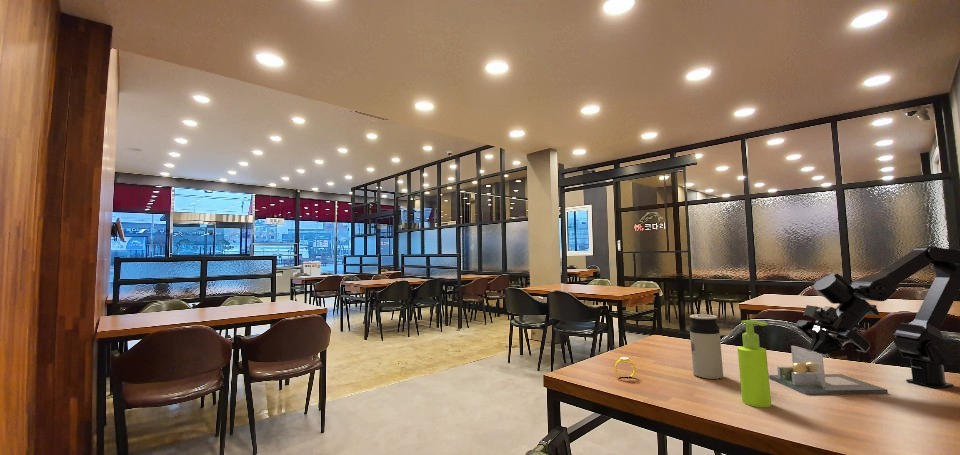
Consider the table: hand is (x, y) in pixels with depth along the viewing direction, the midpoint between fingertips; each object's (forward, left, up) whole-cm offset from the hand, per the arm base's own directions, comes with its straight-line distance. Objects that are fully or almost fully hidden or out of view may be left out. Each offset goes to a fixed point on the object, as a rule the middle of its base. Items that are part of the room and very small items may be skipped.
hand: (809, 357), depth 109 cm
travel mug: (+19, -16, -8) cm, 26 cm away
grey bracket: (+3, -1, -6) cm, 7 cm away
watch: (+43, -22, -8) cm, 49 cm away
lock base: (-3, +1, -8) cm, 8 cm away
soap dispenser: (+25, +7, -8) cm, 27 cm away
